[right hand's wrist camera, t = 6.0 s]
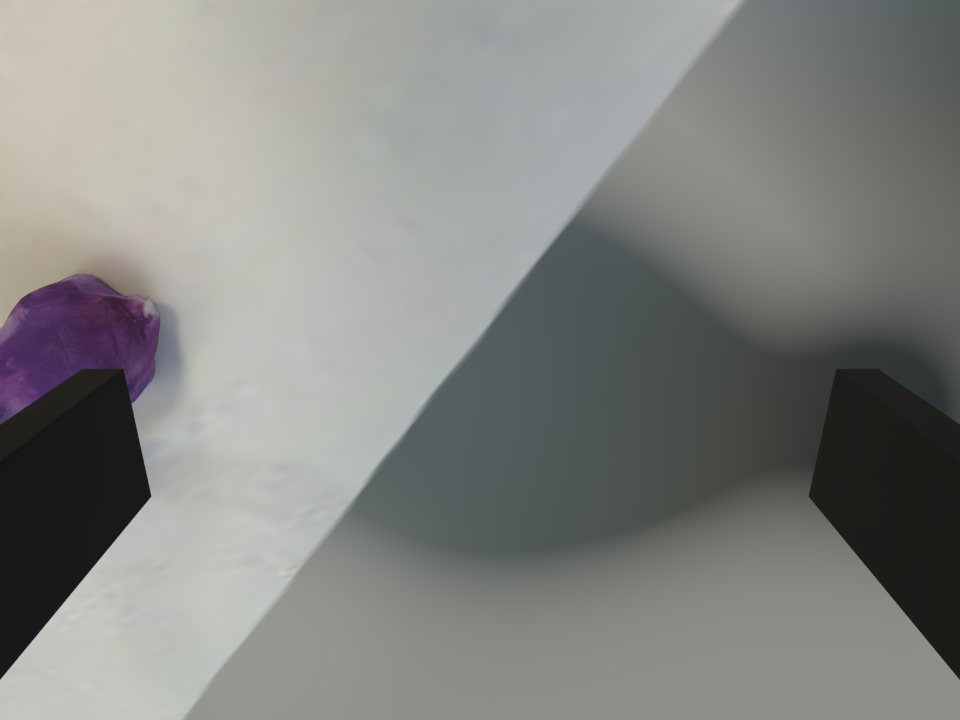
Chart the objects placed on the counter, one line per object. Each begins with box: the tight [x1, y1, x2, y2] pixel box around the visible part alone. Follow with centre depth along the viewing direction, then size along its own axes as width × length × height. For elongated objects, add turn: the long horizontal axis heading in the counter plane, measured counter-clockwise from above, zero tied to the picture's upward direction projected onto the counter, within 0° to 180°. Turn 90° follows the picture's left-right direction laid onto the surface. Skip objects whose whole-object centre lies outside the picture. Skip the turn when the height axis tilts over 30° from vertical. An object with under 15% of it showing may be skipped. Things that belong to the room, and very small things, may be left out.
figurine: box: [0, 274, 160, 424], centre depth 35 cm, size 9×10×15 cm
